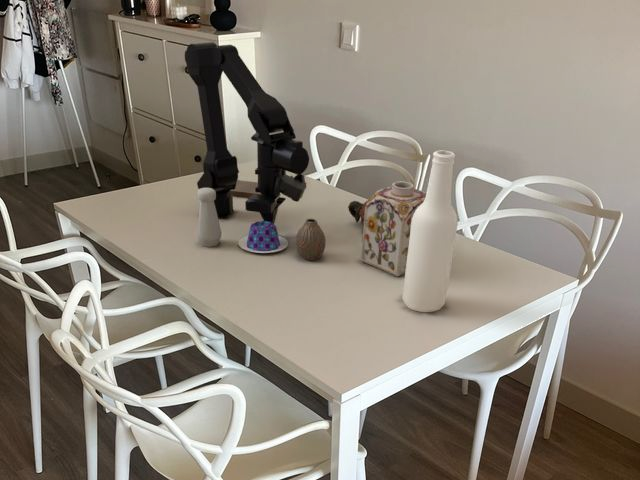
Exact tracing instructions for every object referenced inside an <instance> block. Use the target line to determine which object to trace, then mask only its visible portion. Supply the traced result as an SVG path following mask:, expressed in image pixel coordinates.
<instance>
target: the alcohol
mask: <svg viewBox="0 0 640 480" xmlns="http://www.w3.org/2000/svg"><path fill="white" fill-rule="evenodd" d="M432 156H433V157H432V160H431V162H432V165H431V169H430V174H429V179H428V184H427V188H426V198H425V200H424V202H423V203H422V204H421V205H420V206H419V207H418V208H417V209H416V211H415V212H414V215H413V218H412V222H411V230H410V239H409V247H408V255H407V264H406V272H405V274H404V282H403V289H402V297H401V298H402V301H403V303H404V305H405V306H406V308H409V309H410V310H412V311H415V312H420V313H434V312H437V311H439V310H440V309H442V308H443V306H445V303H446V298H447V291H448V285H449V281H450V273H451V268H452V261H453V254H454V251H455V250H454V248H455V244H456V243H455V242H456V237H457V231H458V225H459V223H458V215H457V212H456V210H455V208H454V207H453V205H452V202H451V198H452V197H451V195H452V185H453V182H452V181H453V170H454V164H455V158H456V154H455V152H453V151H450V150H444V149H442V150H441V149H439V150H435V151H434V152H433V153H432Z"/></svg>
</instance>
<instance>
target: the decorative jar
mask: <svg viewBox="0 0 640 480" xmlns="http://www.w3.org/2000/svg"><path fill="white" fill-rule="evenodd" d="M426 193H427V191H424V190H420V189H418V188H415V186H414V184H413V183H412V182H408V181H400V180H399V181H398V180H397V181H395V182H393V183H392V185H391V186H388V187H387V186H386V187H385V188H384V187H383V188H381V189H377V190H376V192H375V193H374V194H373V195H372V196H371V198H370V199H368V200H369V201H368V200H367V201H368V202H367V204H366V206H365V215H364V222H363V228H362V238H361V253H360V256H361V258H360V259H361V262H362V263H364V264H367V265H370V266H371V267H374V268H376V269H379V270H381V271H383V272H386V273H389V274H391V275H393V276H395V277H400V276H402V275H405V272H406V264H407V255H408V247H409V239H410V230H411V222H412V218H413V215H414V212H415V211H416V209H417V208H418V207H419V206H420V205H421V204H422V203H423V202H424V200H425V198H426Z"/></svg>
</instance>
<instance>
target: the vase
mask: <svg viewBox="0 0 640 480" xmlns="http://www.w3.org/2000/svg"><path fill="white" fill-rule="evenodd" d="M295 249H296V252H297V254H298V255H299V256H300V258H302V259H303V260H306V261H315V260H318V259H319V258H320V257H321V256H323V254H324V252H325V249H326V236H325V232H324V231H323V229H322V228H321V226H320V225H319V223H318V221H317V219H316V218H306V220H305V221H304V223H303V225H302V226H301V227H300V228H299V229H298V231H297V234H296V237H295Z"/></svg>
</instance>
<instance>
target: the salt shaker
mask: <svg viewBox="0 0 640 480" xmlns="http://www.w3.org/2000/svg"><path fill="white" fill-rule="evenodd" d="M196 192H197V193H196V197H197V200H198V201H199V208H198V209H199V210H198V222H197V233H196V236H197V239H198V240H199V242H200V243H201V245H202V247H207V248H211V247H217V246H218V245H219V242H220V240H221V239H222V228H221V225H220V220H219V218H218V216H217V212H216V208H215V204H214V200H215V199H216V192H215V190H214V189H212V188H201V189H197V191H196Z"/></svg>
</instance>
